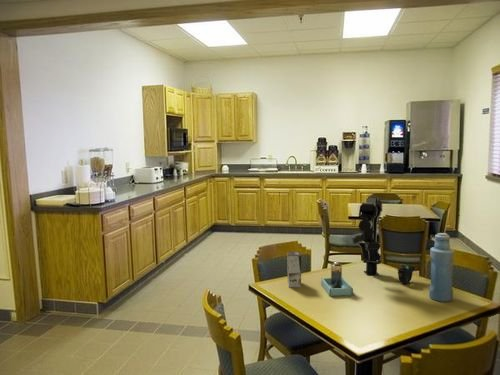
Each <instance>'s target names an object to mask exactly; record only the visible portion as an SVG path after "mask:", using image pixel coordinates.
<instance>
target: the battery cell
mask: <svg viewBox="0 0 500 375" xmlns="http://www.w3.org/2000/svg"><path fill="white" fill-rule="evenodd" d="M342 271H343V265H342V263H339V261H335V262H333V263H331V264H330V273H331V274H330V278H331V289H332V288H342V277H343V276H342V273H343V272H342Z"/></svg>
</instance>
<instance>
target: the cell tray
mask: <svg viewBox="0 0 500 375" xmlns="http://www.w3.org/2000/svg"><path fill="white" fill-rule="evenodd" d="M320 283H321V286H322V288H323V289H324V291H325V292H326V293H327V295H328V296H329V297H353V296H354V288H353V287H352V285H351V284H349V282H347V280H346V279H345V278H344V277H343V276H342V288H332V289H331V277H321V282H320Z"/></svg>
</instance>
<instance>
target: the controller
mask: <svg viewBox="0 0 500 375" xmlns="http://www.w3.org/2000/svg"><path fill="white" fill-rule="evenodd" d="M415 270H416V267H415V266H414V265H409V264H408V265H406V264H401V265H400V267H399V268H397V274H398V275H397V276H398V280H399V282H400V283H402V284H405V285H406V284H409V283H410V282H411V280H412V278H413V273H414V271H415Z"/></svg>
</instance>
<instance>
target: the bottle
mask: <svg viewBox="0 0 500 375" xmlns="http://www.w3.org/2000/svg"><path fill="white" fill-rule="evenodd" d="M434 239H435V240H434V244H433V246H432V247H431V248H430V249H429V252H430V253H429V254H430V255H429V257H430V284H429V288H428V289H429V291H428V296H429V298H430V299H432V301H435V302H442V303H447V302H448V303H449V302H452V301H453V300H454V290H453V272H454V271H453V270H454V269H453V266H454V262H455V260H454V259H455V250H454V249H453V248H451V244H450V243H451V242H450V239H451V236H450V235H449V234H448V233H445V232H438V233H436V234H435V235H434Z"/></svg>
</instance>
